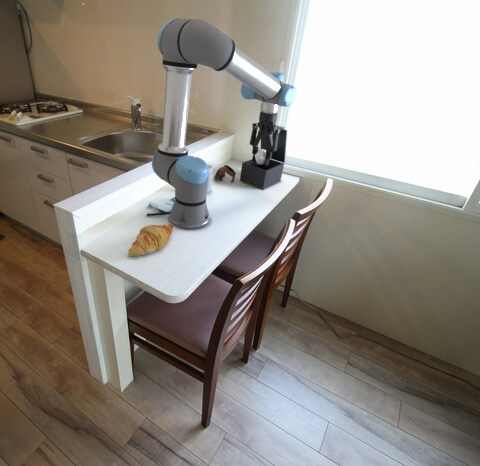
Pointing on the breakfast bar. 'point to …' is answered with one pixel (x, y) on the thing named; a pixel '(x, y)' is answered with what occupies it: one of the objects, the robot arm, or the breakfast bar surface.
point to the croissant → (150, 239)
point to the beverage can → (209, 178)
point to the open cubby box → (261, 173)
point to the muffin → (260, 156)
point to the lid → (281, 147)
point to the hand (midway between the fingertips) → (260, 162)
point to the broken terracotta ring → (223, 171)
